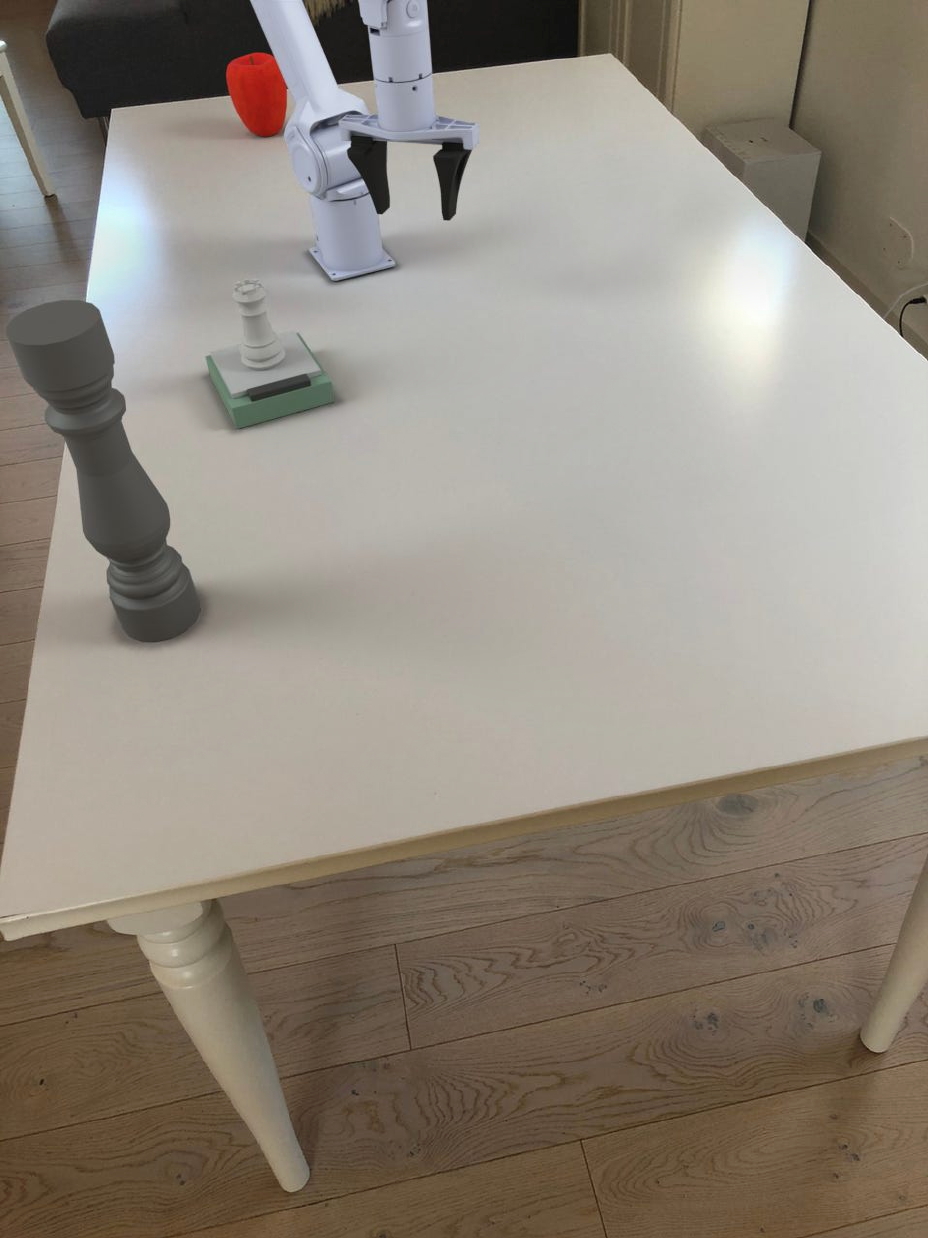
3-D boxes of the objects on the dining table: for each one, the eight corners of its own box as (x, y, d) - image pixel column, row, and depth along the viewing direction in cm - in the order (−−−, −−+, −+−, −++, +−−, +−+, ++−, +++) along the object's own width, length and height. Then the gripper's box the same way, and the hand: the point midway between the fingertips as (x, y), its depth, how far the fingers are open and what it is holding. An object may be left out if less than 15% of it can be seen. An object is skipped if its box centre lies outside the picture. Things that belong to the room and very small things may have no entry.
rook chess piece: (285, 369, 99) (269, 293, 94) (239, 373, 99) (221, 297, 94) (287, 346, 102) (272, 271, 97) (243, 350, 102) (226, 275, 97)
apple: (247, 122, 160) (232, 46, 152) (300, 121, 159) (288, 45, 151) (230, 142, 154) (213, 64, 146) (285, 142, 153) (272, 63, 145)
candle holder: (127, 591, 82) (14, 302, 64) (204, 583, 82) (112, 293, 64) (115, 645, 77) (-11, 351, 60) (196, 637, 77) (94, 342, 60)
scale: (210, 376, 105) (203, 349, 103) (302, 352, 107) (297, 325, 105) (237, 429, 98) (230, 401, 95) (335, 402, 100) (330, 374, 98)
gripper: (487, 63, 98) (493, 203, 108) (352, 58, 103) (369, 193, 112) (461, 87, 94) (470, 231, 103) (321, 80, 98) (342, 219, 107)
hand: (416, 213), depth 107 cm, fingers open, 7 cm apart
